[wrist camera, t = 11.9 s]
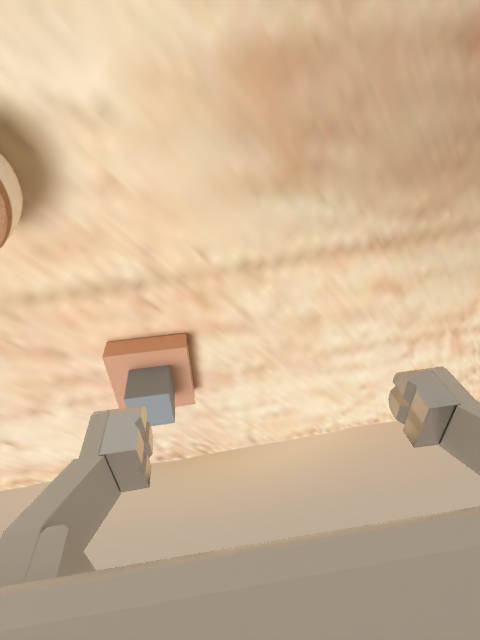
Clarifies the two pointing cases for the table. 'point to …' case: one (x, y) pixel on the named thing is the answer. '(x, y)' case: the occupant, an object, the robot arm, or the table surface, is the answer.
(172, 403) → the cube
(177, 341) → the pedestal
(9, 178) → the lidded jar
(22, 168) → the table surface
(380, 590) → the robot arm
